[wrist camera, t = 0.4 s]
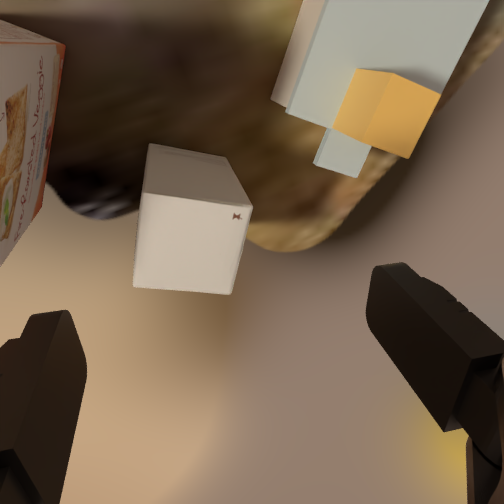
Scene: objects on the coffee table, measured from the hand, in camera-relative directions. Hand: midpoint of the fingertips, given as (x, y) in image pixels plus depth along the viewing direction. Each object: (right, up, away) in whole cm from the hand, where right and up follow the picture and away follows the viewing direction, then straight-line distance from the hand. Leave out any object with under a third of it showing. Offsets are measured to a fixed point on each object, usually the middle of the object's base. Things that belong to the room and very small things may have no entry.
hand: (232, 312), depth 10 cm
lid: (+10, +18, +19) cm, 28 cm away
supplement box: (-6, +8, +26) cm, 28 cm away
